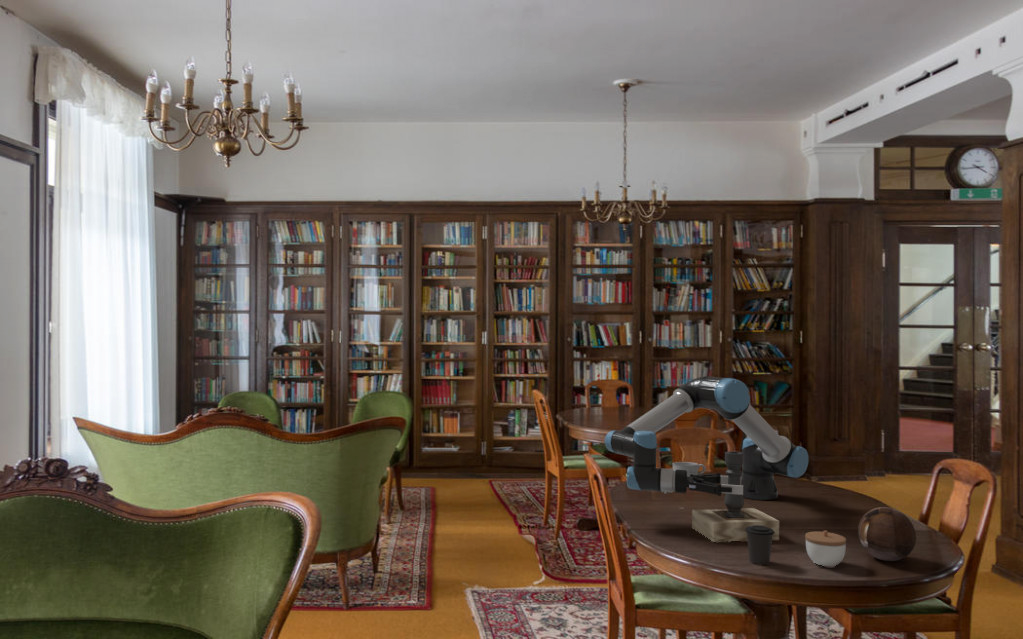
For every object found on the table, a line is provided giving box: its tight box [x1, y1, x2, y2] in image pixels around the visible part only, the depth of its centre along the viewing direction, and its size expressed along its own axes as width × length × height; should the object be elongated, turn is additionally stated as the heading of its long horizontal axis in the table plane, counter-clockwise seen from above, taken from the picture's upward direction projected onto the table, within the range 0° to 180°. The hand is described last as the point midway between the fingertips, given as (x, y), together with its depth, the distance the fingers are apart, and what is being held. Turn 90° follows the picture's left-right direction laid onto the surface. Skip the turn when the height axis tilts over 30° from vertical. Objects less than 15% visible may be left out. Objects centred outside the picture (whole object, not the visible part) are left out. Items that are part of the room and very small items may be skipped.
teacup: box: [672, 461, 706, 477], centre depth 314 cm, size 14×11×8 cm
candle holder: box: [724, 450, 745, 519], centre depth 237 cm, size 6×6×25 cm
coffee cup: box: [745, 525, 775, 566], centre depth 209 cm, size 8×8×10 cm
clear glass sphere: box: [857, 506, 917, 562], centre depth 213 cm, size 15×15×15 cm
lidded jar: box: [804, 530, 847, 567], centre depth 208 cm, size 11×11×9 cm
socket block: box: [691, 507, 780, 543], centre depth 237 cm, size 22×16×6 cm
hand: (742, 485), depth 236 cm, fingers open, 13 cm apart
